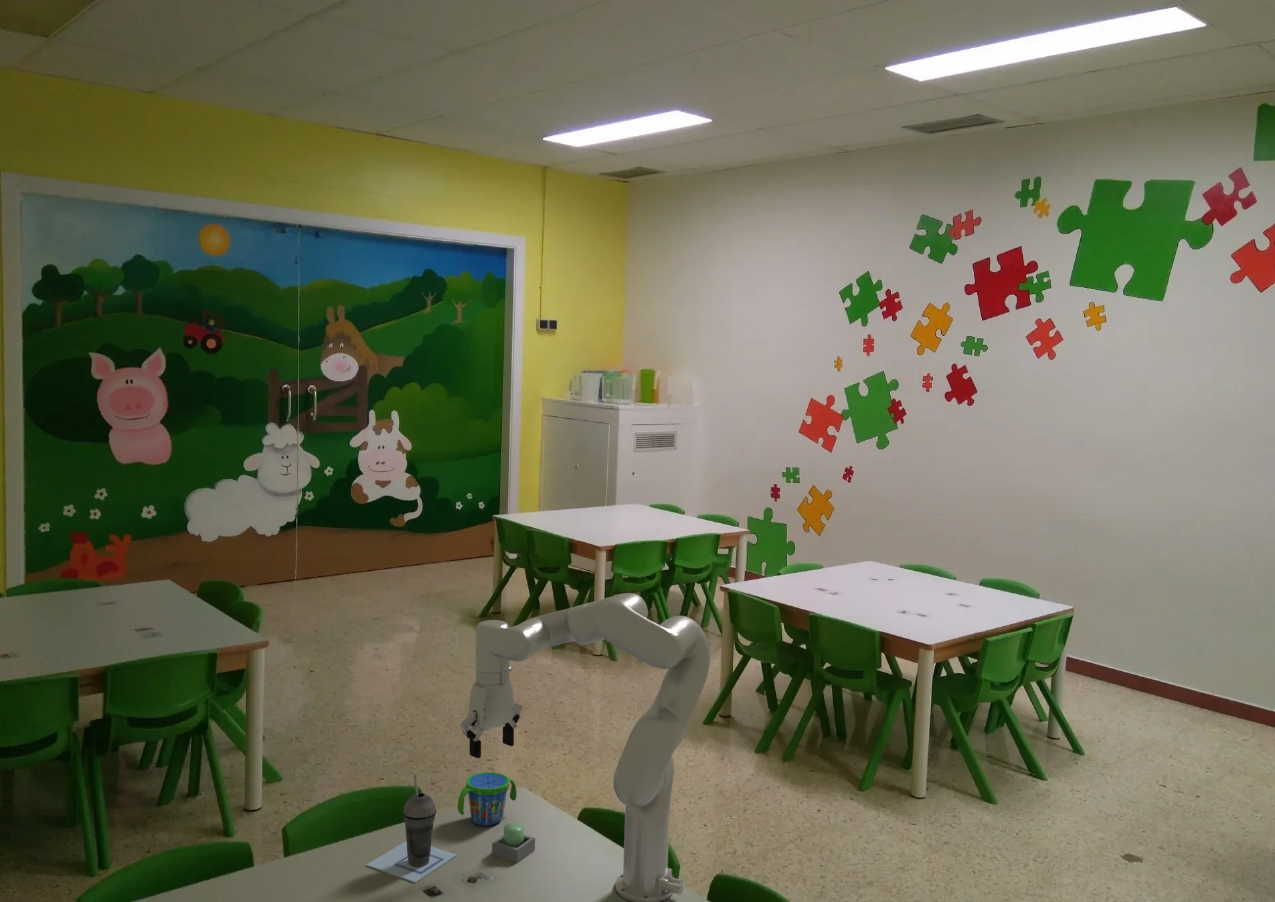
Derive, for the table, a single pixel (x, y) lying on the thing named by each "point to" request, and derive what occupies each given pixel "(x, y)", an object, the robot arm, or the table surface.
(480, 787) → the snack cup
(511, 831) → the button
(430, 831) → the beverage cup
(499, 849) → the button housing
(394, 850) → the paper
